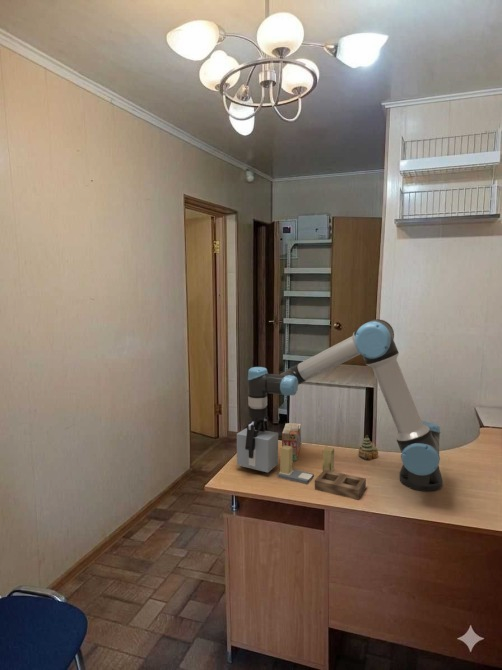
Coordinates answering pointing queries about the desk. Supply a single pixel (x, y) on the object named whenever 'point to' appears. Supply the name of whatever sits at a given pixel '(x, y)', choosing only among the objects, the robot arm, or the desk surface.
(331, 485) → the socket board
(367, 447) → the ornament
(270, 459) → the block
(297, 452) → the stack of blocks
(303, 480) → the board
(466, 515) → the desk surface
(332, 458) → the brass pin
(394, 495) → the desk surface
